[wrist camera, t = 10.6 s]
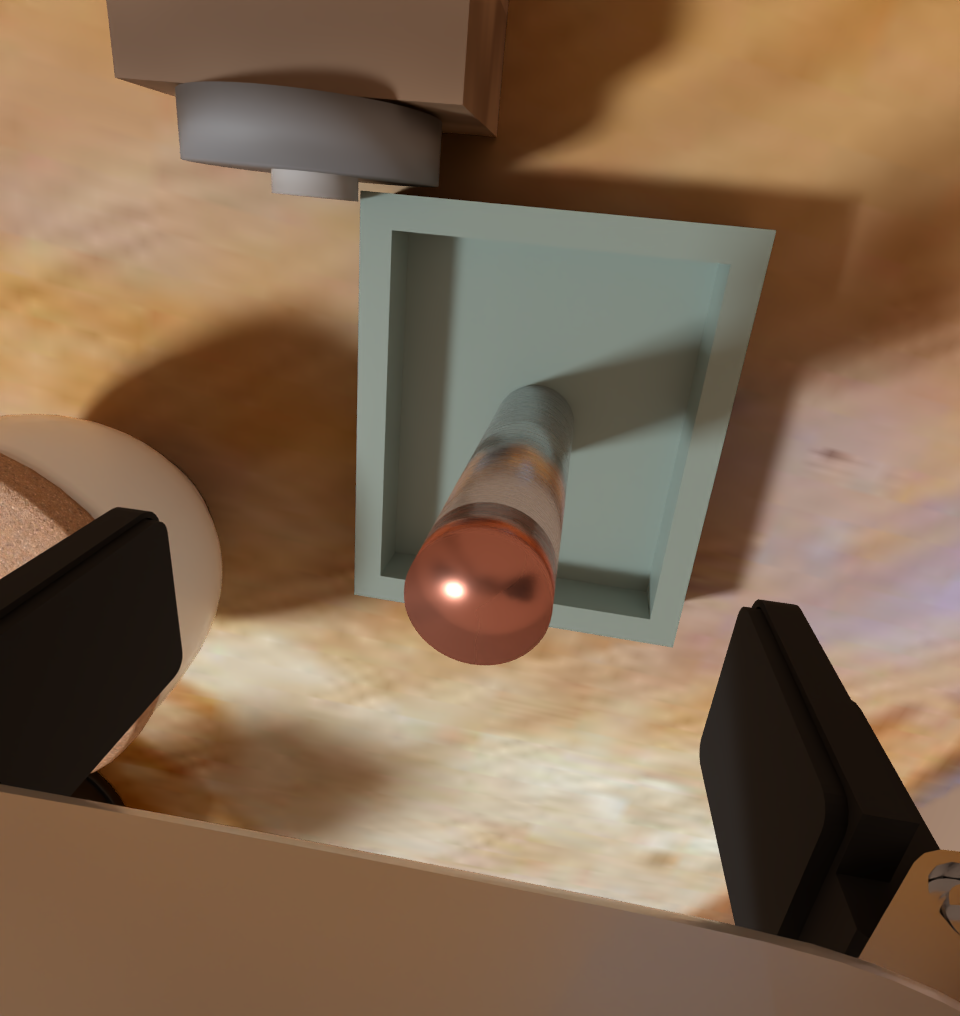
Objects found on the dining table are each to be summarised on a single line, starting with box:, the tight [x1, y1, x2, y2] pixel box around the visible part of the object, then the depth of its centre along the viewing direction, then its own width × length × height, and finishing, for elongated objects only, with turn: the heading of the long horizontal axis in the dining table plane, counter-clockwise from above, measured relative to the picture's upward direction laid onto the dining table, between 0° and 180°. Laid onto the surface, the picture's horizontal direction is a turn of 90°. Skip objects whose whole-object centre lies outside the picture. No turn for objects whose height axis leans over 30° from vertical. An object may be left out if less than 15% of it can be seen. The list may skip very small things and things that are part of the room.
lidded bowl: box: [0, 414, 222, 773], centre depth 24 cm, size 13×13×11 cm
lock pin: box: [404, 385, 574, 665], centre depth 18 cm, size 3×3×12 cm
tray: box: [354, 191, 776, 647], centre depth 23 cm, size 14×12×3 cm
